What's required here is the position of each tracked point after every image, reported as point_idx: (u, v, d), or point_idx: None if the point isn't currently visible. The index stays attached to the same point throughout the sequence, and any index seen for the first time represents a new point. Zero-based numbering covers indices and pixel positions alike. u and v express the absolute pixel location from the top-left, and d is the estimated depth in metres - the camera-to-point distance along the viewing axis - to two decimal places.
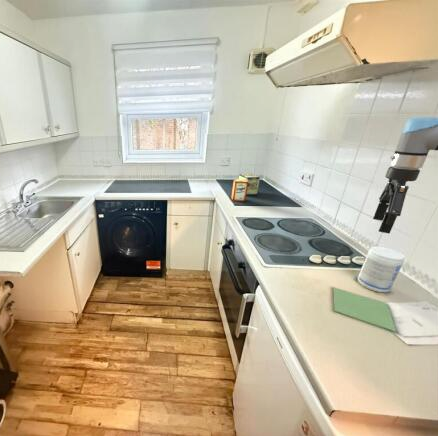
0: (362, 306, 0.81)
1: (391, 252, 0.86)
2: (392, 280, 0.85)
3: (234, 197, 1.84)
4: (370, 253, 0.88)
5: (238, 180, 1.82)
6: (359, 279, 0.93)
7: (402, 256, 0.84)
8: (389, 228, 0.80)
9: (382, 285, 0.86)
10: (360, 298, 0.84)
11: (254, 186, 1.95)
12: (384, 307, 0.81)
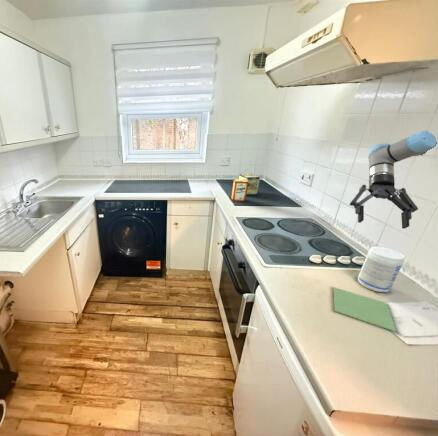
0: (362, 306, 0.81)
1: (391, 252, 0.86)
2: (392, 280, 0.85)
3: (234, 197, 1.84)
4: (370, 253, 0.88)
5: (238, 180, 1.82)
6: (359, 279, 0.93)
7: (402, 256, 0.84)
8: (360, 216, 0.95)
9: (382, 285, 0.86)
10: (360, 298, 0.84)
11: (254, 186, 1.95)
12: (384, 307, 0.81)
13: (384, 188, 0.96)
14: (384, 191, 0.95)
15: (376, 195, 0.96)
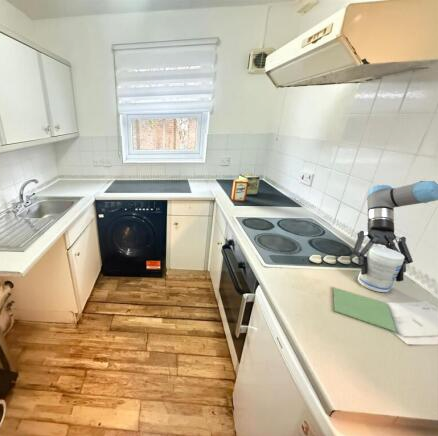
0: (362, 306, 0.81)
1: (391, 252, 0.86)
2: (392, 280, 0.85)
3: (234, 197, 1.84)
4: (370, 253, 0.88)
5: (238, 180, 1.82)
6: (359, 279, 0.93)
7: (402, 256, 0.84)
8: (363, 268, 0.89)
9: (382, 285, 0.86)
10: (360, 298, 0.84)
11: (254, 186, 1.95)
12: (384, 307, 0.81)
13: (383, 234, 0.91)
14: (383, 237, 0.91)
15: None
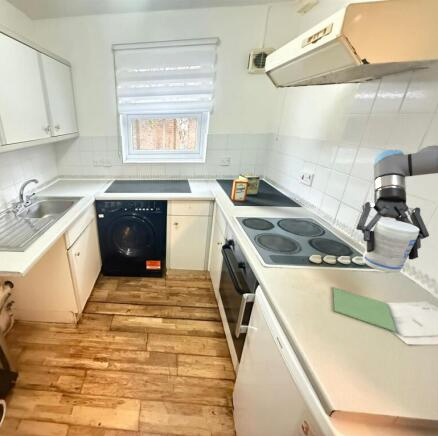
0: (362, 306, 0.81)
1: (403, 224, 0.73)
2: (404, 257, 0.72)
3: (234, 197, 1.84)
4: (378, 226, 0.74)
5: (238, 180, 1.82)
6: (364, 258, 0.79)
7: (416, 228, 0.70)
8: (370, 244, 0.75)
9: (392, 264, 0.73)
10: (360, 298, 0.84)
11: (254, 186, 1.95)
12: (384, 307, 0.81)
13: (393, 205, 0.77)
14: (393, 209, 0.77)
15: None
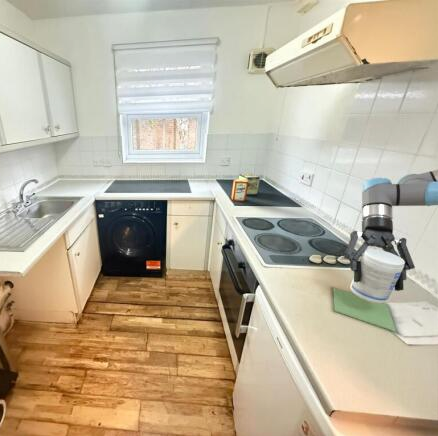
0: (362, 306, 0.81)
1: (389, 256, 0.73)
2: (390, 289, 0.72)
3: (234, 197, 1.84)
4: (364, 257, 0.75)
5: (238, 180, 1.82)
6: (352, 287, 0.79)
7: (402, 261, 0.70)
8: (357, 274, 0.76)
9: (378, 295, 0.73)
10: (360, 298, 0.84)
11: (254, 186, 1.95)
12: (384, 307, 0.81)
13: (380, 235, 0.78)
14: (380, 239, 0.77)
15: None
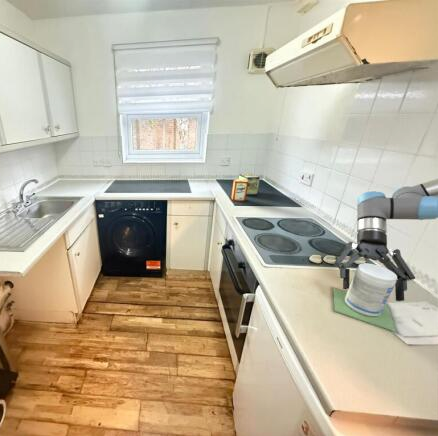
0: None
1: (382, 271, 0.75)
2: (383, 303, 0.74)
3: (234, 197, 1.84)
4: (358, 271, 0.77)
5: (238, 180, 1.82)
6: (346, 300, 0.81)
7: (394, 276, 0.73)
8: (345, 282, 0.79)
9: (372, 309, 0.75)
10: None
11: (254, 186, 1.95)
12: (384, 307, 0.81)
13: (374, 248, 0.80)
14: (374, 252, 0.79)
15: (365, 256, 0.80)
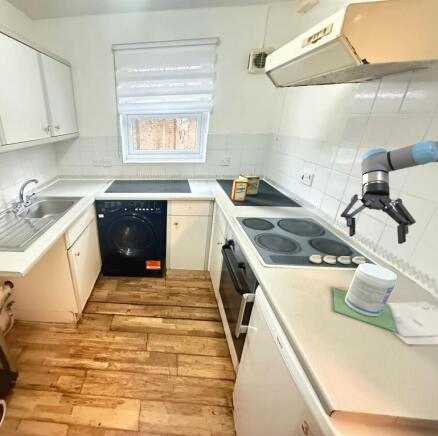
0: None
1: (382, 271, 0.75)
2: (383, 303, 0.74)
3: (234, 197, 1.84)
4: (358, 271, 0.77)
5: (238, 180, 1.82)
6: (346, 300, 0.81)
7: (394, 276, 0.73)
8: (352, 229, 0.85)
9: (372, 309, 0.75)
10: None
11: (254, 186, 1.95)
12: (384, 307, 0.81)
13: (378, 198, 0.87)
14: (378, 202, 0.86)
15: (369, 206, 0.87)
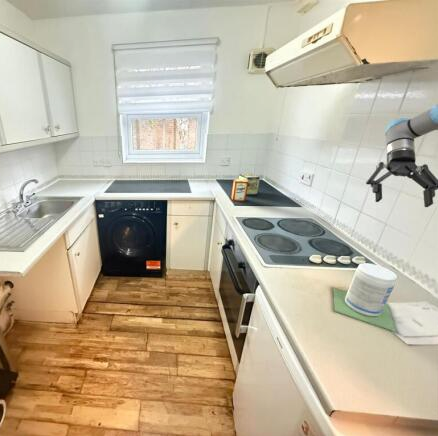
0: None
1: (382, 271, 0.75)
2: (383, 303, 0.74)
3: (234, 197, 1.84)
4: (358, 271, 0.77)
5: (238, 180, 1.82)
6: (346, 300, 0.81)
7: (394, 276, 0.73)
8: (378, 194, 0.88)
9: (372, 309, 0.75)
10: None
11: (254, 186, 1.95)
12: (384, 307, 0.81)
13: (404, 165, 0.89)
14: (404, 168, 0.89)
15: (395, 172, 0.89)
